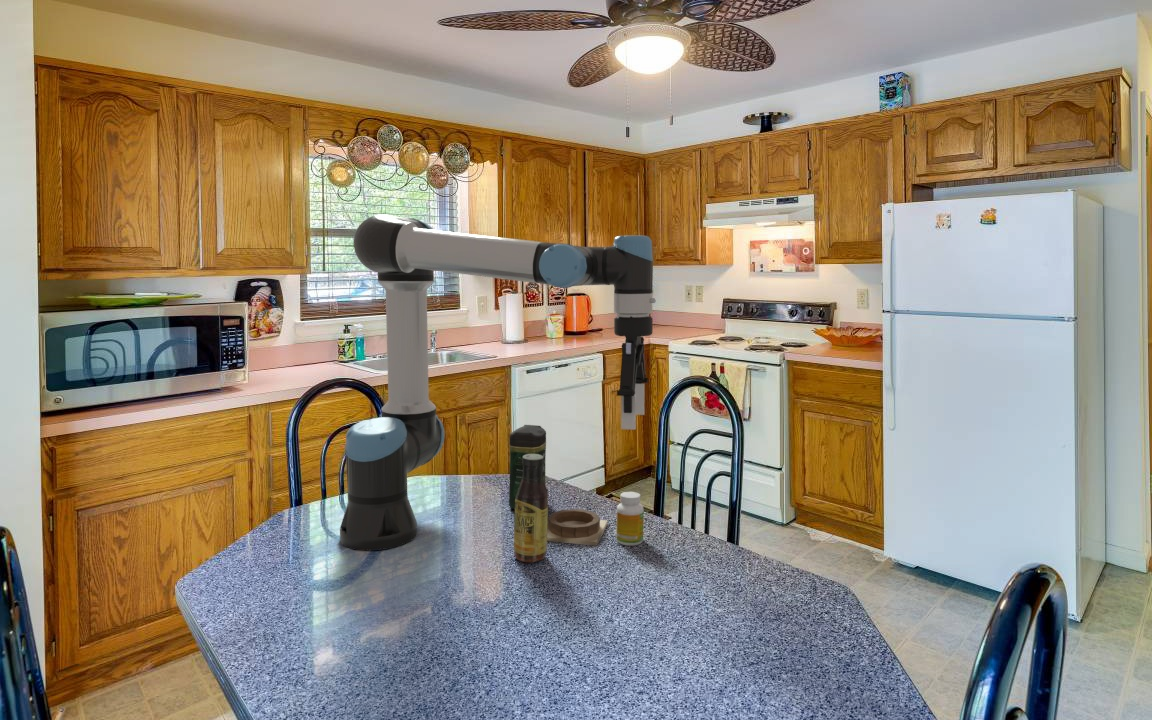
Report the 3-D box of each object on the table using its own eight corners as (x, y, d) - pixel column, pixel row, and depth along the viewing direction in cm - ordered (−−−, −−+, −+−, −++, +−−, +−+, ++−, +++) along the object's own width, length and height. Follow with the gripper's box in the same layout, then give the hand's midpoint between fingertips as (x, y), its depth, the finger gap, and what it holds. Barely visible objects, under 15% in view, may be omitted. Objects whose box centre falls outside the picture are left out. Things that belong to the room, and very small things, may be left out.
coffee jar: (539, 514, 153) (539, 432, 151) (505, 511, 155) (504, 430, 152) (549, 500, 163) (549, 423, 160) (517, 497, 164) (517, 421, 162)
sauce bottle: (507, 557, 130) (506, 455, 128) (531, 548, 135) (531, 449, 132) (530, 567, 126) (530, 462, 123) (554, 557, 130) (555, 455, 128)
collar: (538, 539, 139) (538, 525, 138) (553, 519, 150) (553, 505, 150) (596, 545, 136) (596, 531, 136) (607, 524, 148) (607, 510, 147)
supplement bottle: (644, 546, 136) (645, 499, 134) (616, 546, 136) (617, 498, 135) (642, 536, 141) (642, 490, 140) (615, 535, 141) (616, 490, 140)
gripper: (644, 319, 122) (644, 436, 125) (658, 311, 146) (658, 409, 149) (603, 319, 124) (603, 435, 126) (623, 311, 148) (624, 408, 150)
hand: (633, 421), depth 138 cm, fingers open, 13 cm apart
